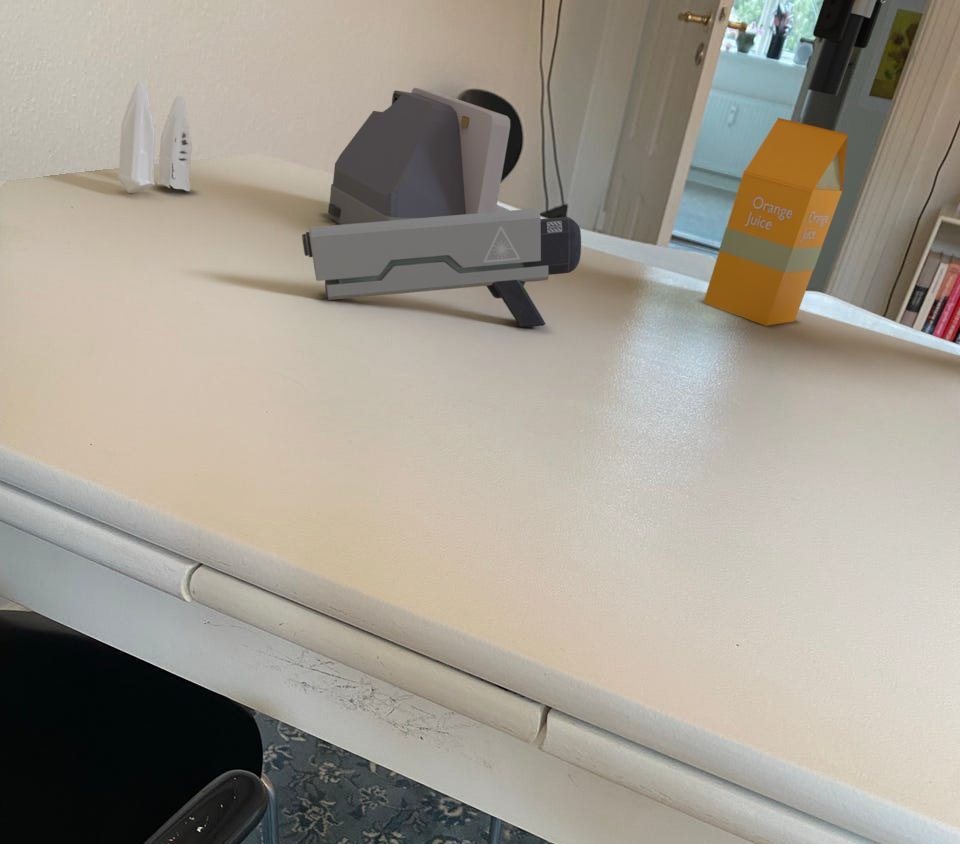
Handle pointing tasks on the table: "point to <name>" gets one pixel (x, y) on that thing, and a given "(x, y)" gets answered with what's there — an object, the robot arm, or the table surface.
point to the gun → (446, 256)
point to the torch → (839, 52)
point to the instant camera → (421, 161)
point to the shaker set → (141, 145)
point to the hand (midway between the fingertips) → (840, 40)
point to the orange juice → (779, 223)
